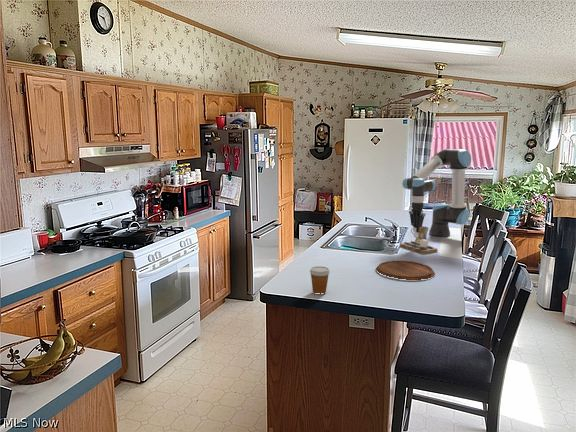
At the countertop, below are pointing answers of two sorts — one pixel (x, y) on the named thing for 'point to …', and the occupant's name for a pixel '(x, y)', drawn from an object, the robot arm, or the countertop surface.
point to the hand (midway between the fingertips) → (416, 236)
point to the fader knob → (424, 243)
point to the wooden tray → (418, 247)
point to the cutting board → (405, 270)
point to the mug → (421, 234)
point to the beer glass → (319, 278)
